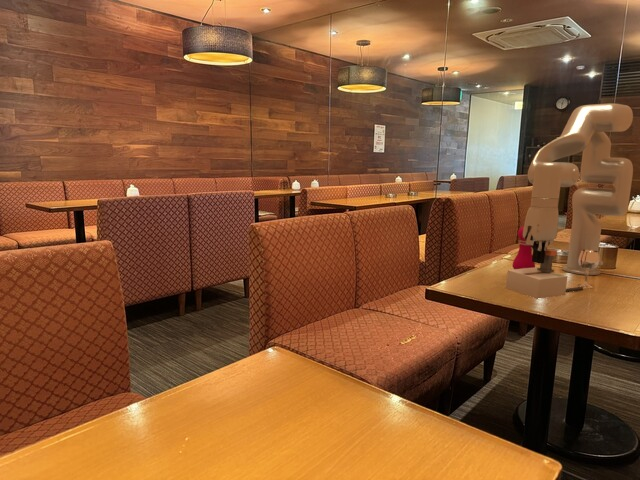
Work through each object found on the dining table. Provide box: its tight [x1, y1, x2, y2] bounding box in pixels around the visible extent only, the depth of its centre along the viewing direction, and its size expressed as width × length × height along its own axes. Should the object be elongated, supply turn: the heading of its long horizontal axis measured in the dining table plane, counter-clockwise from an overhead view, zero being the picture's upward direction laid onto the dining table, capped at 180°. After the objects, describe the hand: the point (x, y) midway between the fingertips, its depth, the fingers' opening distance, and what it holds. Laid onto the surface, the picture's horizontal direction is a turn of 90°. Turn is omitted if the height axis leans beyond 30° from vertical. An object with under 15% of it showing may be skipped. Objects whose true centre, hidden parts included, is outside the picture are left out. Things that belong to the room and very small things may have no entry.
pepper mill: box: [511, 225, 536, 269], centre depth 156 cm, size 7×7×20 cm
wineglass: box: [577, 250, 600, 289], centre depth 148 cm, size 6×6×12 cm
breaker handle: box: [536, 248, 558, 273], centre depth 141 cm, size 3×4×7 cm
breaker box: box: [505, 266, 584, 300], centre depth 143 cm, size 22×12×6 cm, turn 114°
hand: (537, 262), depth 139 cm, fingers closed
